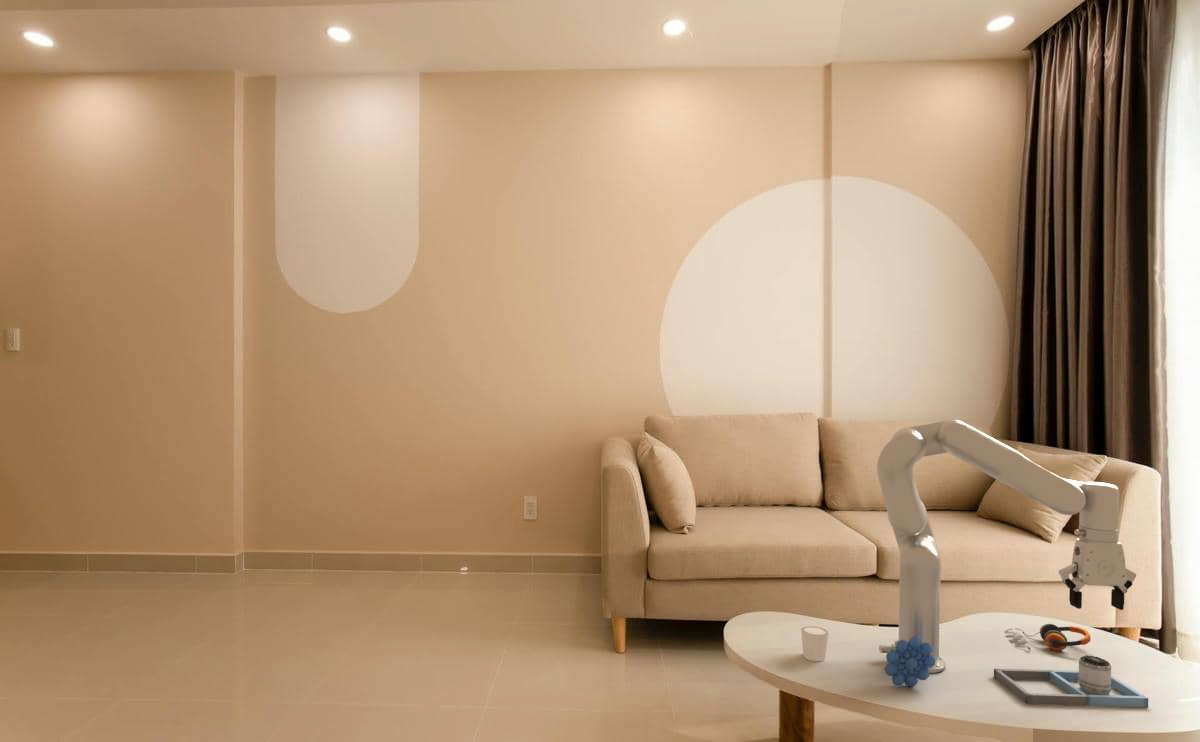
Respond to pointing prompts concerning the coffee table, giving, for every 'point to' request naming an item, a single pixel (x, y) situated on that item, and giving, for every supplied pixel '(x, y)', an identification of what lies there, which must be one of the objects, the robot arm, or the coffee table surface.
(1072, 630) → the headphones
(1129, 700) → the organizer
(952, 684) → the coffee table surface
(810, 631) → the shot glass
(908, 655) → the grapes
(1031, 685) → the coffee table surface
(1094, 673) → the camera lens
